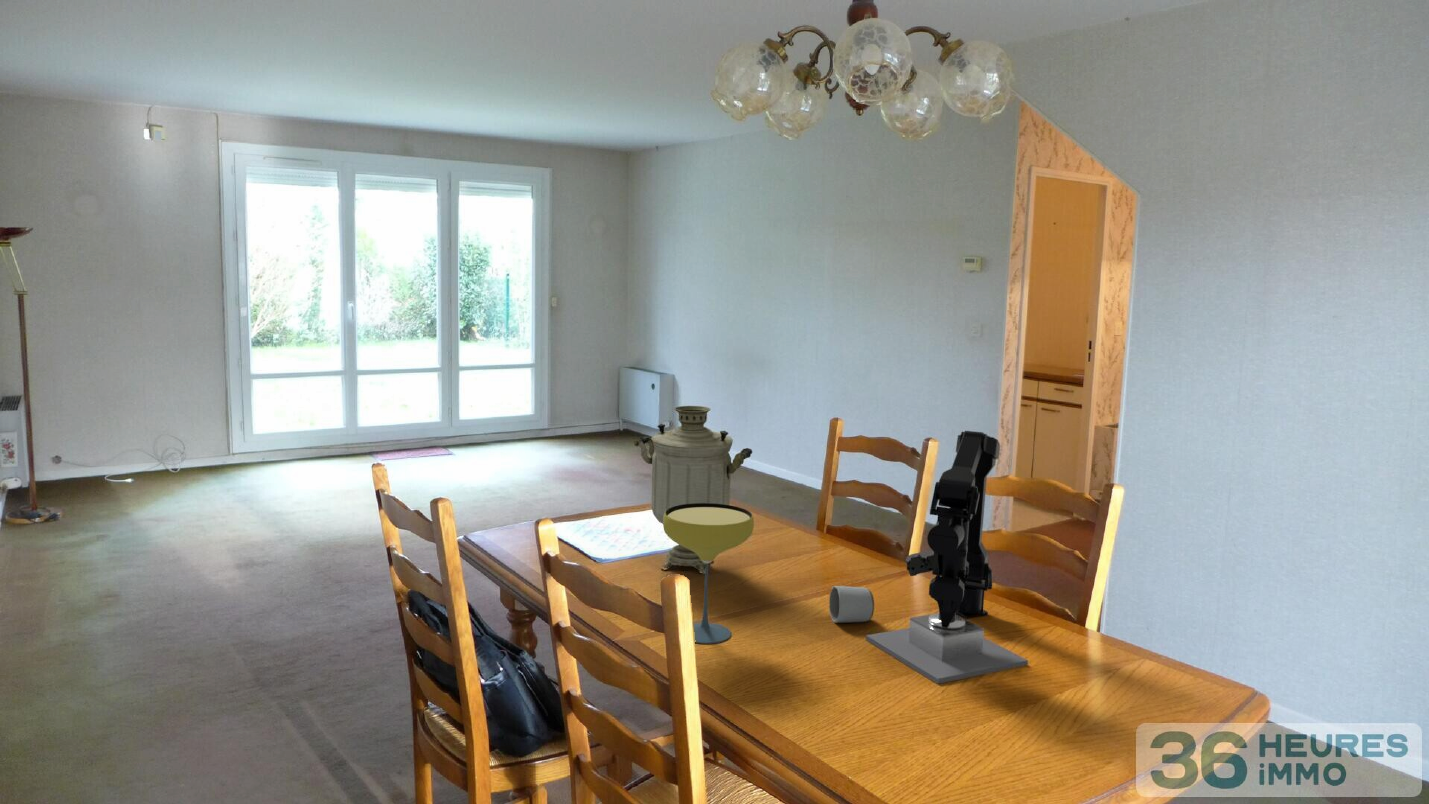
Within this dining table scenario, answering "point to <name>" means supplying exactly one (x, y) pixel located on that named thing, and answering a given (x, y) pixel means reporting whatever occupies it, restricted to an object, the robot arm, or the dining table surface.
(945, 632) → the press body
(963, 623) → the plunger
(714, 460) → the samovar
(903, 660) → the slate mat
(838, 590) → the ceramic mug
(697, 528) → the cocktail glass
